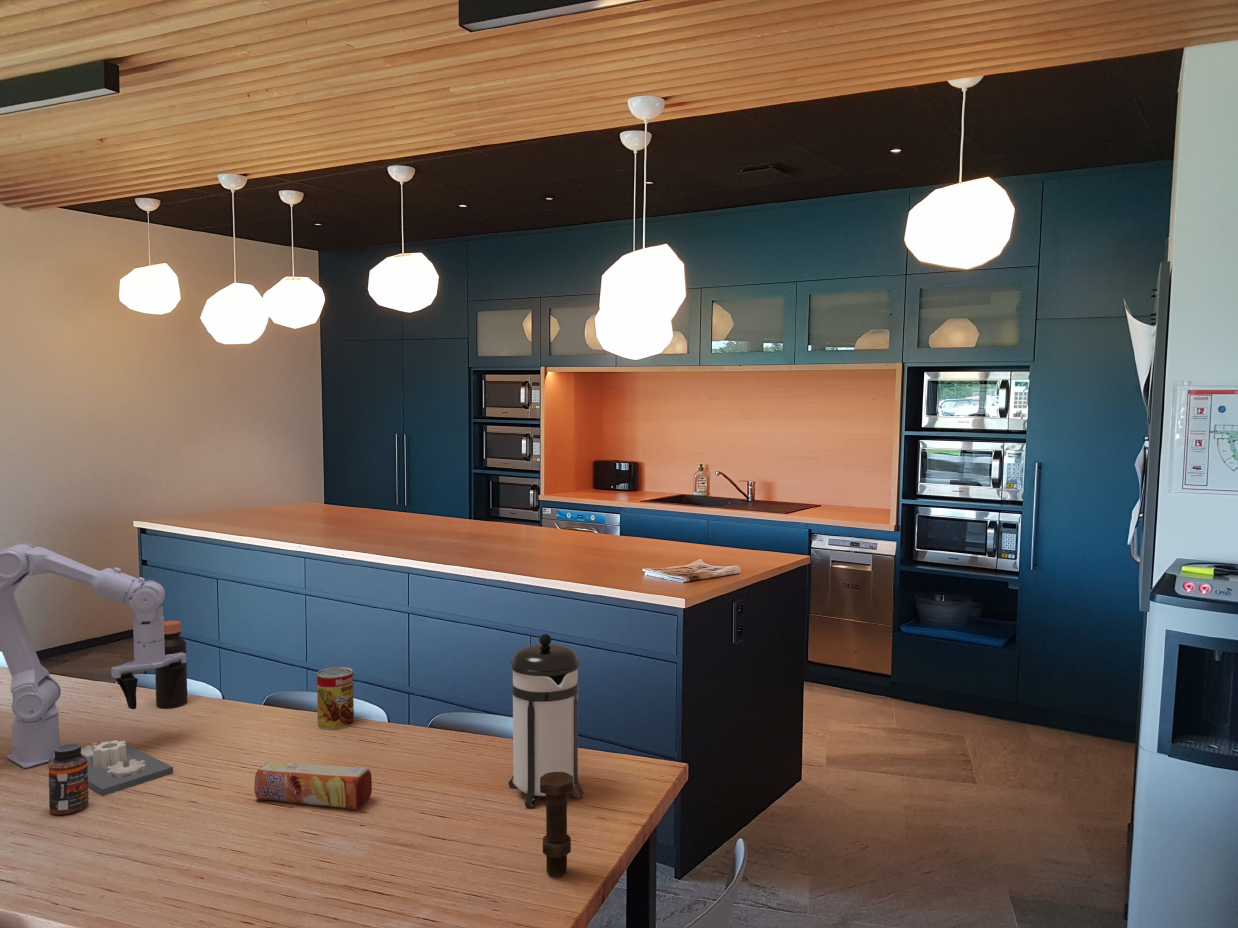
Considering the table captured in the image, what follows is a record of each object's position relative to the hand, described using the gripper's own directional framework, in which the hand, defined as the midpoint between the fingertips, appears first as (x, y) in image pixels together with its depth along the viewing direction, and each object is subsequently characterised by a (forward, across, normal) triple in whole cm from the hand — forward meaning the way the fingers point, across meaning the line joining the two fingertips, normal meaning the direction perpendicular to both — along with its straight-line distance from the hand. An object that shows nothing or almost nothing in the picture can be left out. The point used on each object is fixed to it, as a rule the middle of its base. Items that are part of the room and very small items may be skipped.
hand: (151, 703), depth 187 cm
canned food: (+10, +32, -19) cm, 38 cm away
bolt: (+10, +13, -102) cm, 103 cm away
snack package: (+10, +5, -50) cm, 51 cm away
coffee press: (+10, +34, -80) cm, 87 cm away
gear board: (+9, -10, -5) cm, 15 cm away
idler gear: (+8, -10, -5) cm, 14 cm away
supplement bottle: (+10, -23, -18) cm, 31 cm away
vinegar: (+10, +16, +24) cm, 30 cm away
